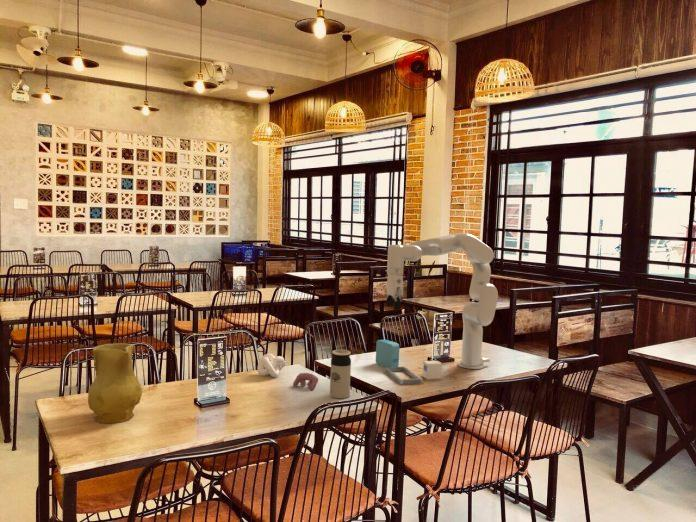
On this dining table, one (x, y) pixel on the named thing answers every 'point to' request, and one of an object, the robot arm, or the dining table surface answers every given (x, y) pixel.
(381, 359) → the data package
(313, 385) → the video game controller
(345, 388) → the travel mug
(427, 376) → the module
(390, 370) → the grey rectangular frame
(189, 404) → the dining table surface
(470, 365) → the robot arm
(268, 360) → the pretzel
